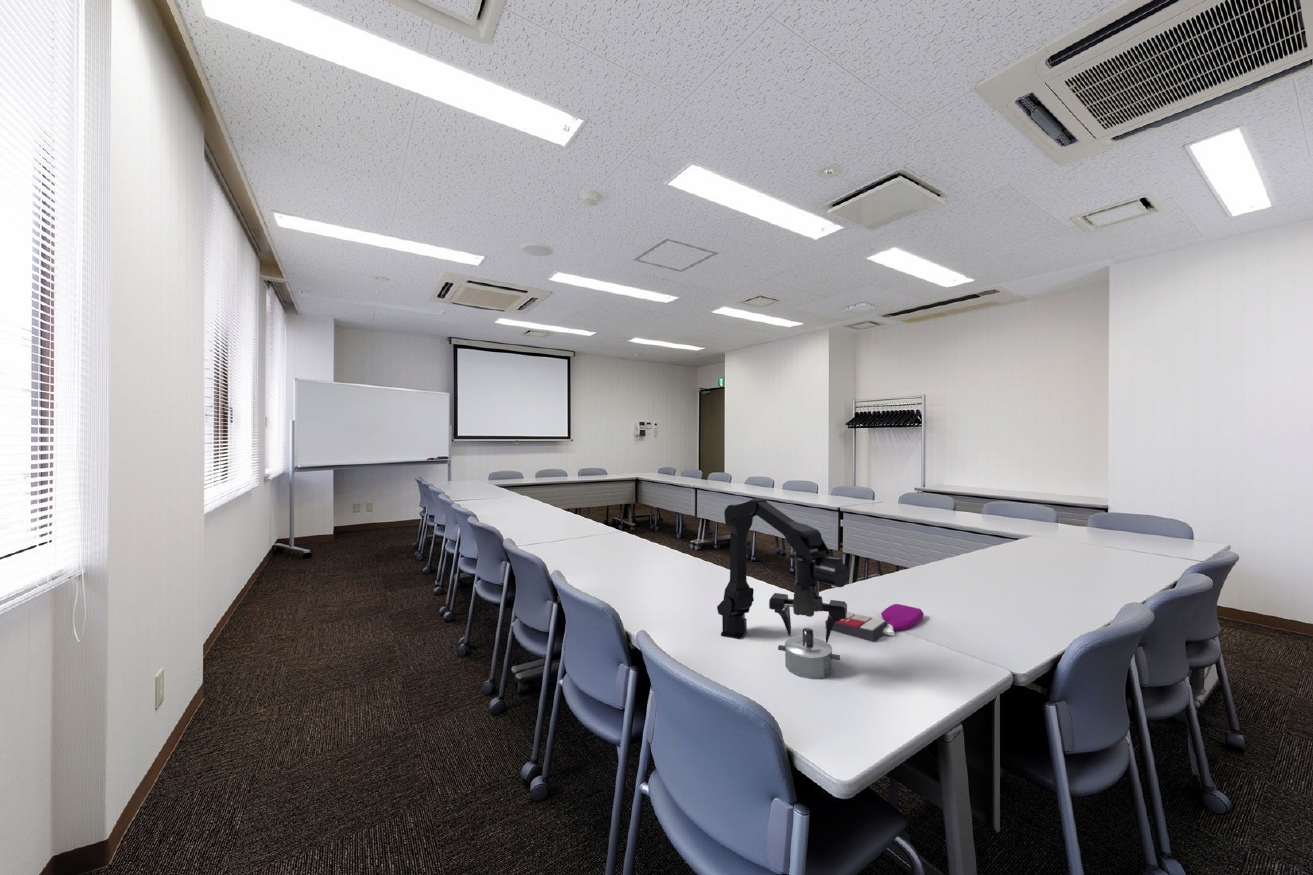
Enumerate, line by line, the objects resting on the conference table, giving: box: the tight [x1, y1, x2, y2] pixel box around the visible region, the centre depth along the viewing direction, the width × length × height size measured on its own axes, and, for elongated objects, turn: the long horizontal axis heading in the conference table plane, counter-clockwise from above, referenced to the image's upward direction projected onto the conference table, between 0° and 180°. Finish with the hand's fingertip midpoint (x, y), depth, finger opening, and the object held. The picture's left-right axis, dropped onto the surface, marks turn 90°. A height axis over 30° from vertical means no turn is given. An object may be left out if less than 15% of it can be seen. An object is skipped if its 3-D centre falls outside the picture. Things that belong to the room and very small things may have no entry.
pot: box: [777, 644, 841, 680], centre depth 124 cm, size 15×11×5 cm
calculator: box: [824, 611, 888, 643], centre depth 149 cm, size 11×4×15 cm
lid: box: [784, 627, 833, 659], centre depth 124 cm, size 12×12×6 cm
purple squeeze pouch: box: [880, 603, 924, 637], centre depth 153 cm, size 3×11×24 cm
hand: (808, 638), depth 124 cm, fingers open, 9 cm apart
